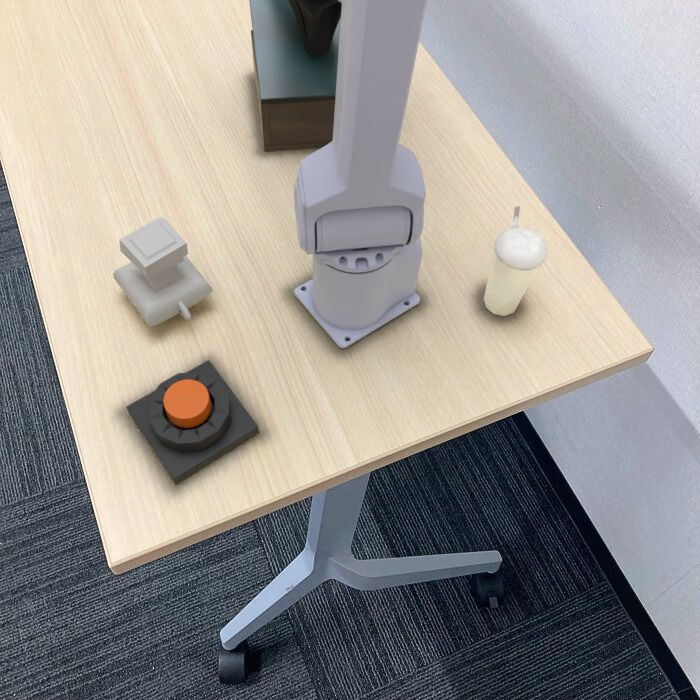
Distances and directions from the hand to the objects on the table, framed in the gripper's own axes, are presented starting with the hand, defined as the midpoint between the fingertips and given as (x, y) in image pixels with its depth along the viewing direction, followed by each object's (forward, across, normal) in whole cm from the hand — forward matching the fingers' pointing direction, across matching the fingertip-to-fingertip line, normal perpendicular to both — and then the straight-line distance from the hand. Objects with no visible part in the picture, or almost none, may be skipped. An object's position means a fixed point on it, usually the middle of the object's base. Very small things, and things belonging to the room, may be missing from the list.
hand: (317, 51), depth 73 cm
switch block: (+10, +23, -31) cm, 40 cm away
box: (+10, -3, +2) cm, 10 cm away
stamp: (+10, +11, -26) cm, 30 cm away
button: (+7, +23, -31) cm, 39 cm away
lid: (0, -2, +1) cm, 3 cm away
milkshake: (+10, +30, -1) cm, 31 cm away
